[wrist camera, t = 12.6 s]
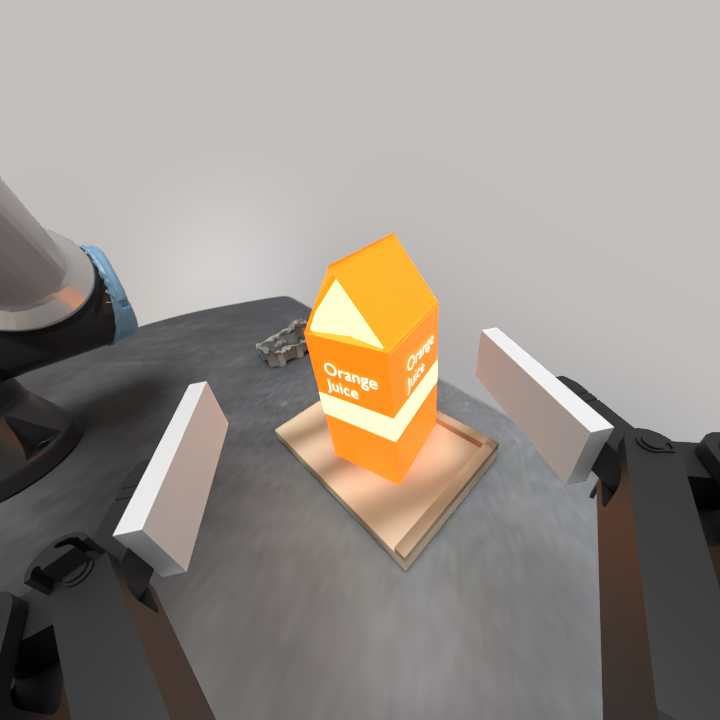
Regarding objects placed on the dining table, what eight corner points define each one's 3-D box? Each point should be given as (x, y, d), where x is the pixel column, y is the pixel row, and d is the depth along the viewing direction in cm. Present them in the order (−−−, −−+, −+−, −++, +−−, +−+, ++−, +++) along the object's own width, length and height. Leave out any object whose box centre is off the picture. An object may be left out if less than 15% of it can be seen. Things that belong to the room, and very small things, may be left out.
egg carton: (309, 334, 59) (304, 315, 56) (328, 348, 53) (324, 327, 51) (257, 355, 54) (250, 336, 52) (272, 373, 49) (265, 352, 46)
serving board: (278, 438, 36) (272, 425, 35) (362, 381, 43) (360, 369, 42) (405, 571, 23) (404, 558, 22) (495, 458, 30) (498, 443, 29)
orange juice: (437, 423, 33) (442, 231, 22) (400, 486, 27) (381, 270, 16) (376, 402, 37) (355, 231, 26) (333, 453, 31) (282, 262, 20)
